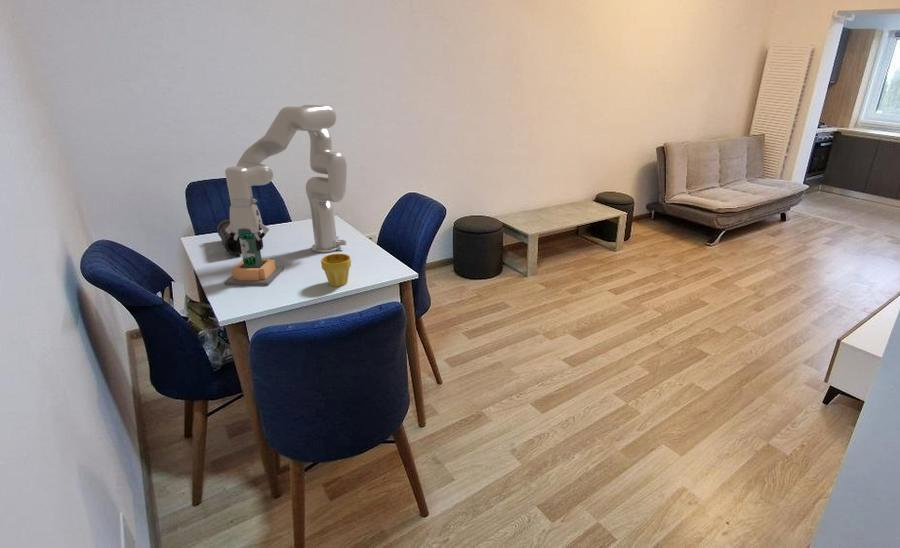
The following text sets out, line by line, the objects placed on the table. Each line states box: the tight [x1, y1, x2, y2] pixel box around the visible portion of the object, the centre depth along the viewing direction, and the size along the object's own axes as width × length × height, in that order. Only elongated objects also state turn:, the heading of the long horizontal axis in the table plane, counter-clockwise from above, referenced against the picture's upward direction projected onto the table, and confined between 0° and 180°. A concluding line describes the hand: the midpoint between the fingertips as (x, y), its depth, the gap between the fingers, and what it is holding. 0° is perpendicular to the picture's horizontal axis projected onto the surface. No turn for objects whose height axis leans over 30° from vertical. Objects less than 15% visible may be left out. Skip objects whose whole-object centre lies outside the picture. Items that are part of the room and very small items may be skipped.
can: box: [238, 229, 263, 268], centre depth 169 cm, size 6×6×15 cm
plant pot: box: [320, 253, 352, 287], centre depth 167 cm, size 10×10×10 cm
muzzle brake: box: [216, 218, 242, 257], centre depth 203 cm, size 10×28×10 cm, turn 31°
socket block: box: [223, 258, 285, 287], centre depth 173 cm, size 16×16×5 cm
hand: (250, 249), depth 170 cm, fingers closed on can, 6 cm apart
